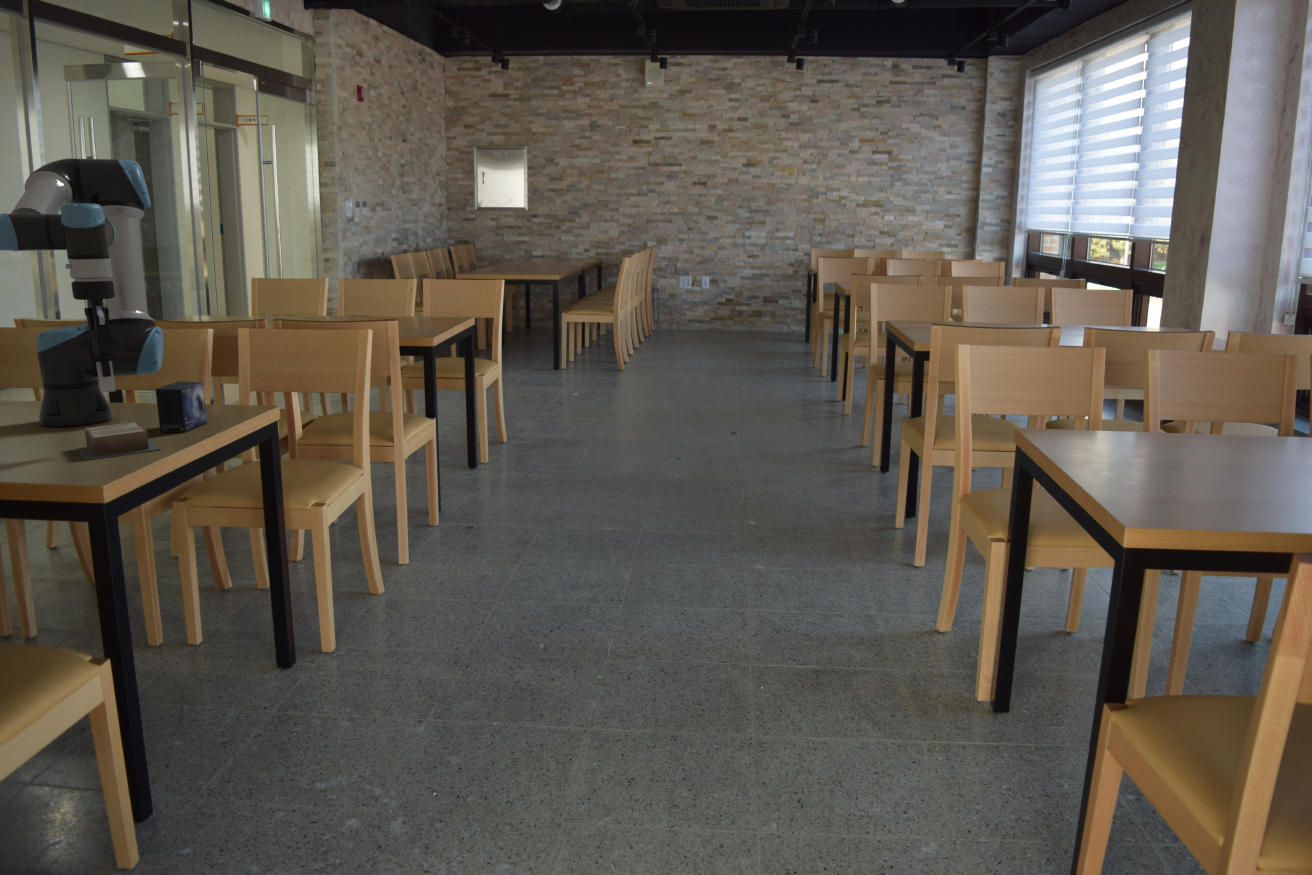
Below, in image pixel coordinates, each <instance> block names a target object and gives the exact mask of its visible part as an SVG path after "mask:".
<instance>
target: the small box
mask: <svg viewBox="0 0 1312 875" xmlns="http://www.w3.org/2000/svg"><path fill="white" fill-rule="evenodd" d="M154 390H155V397H156V398H155V399H156V406H157V416H158V424H159V433H186V432H189V431H191V430H194V429H197V428H199V427H202V426H205V425H207V424H208V416H207V407H206V400H205V397H206V396H205V391H204V390H205V389H204V382H201V381H181V380H179V381H176V382H173V383H169V384H167V385H163V386H159V387H156V388H155V389H154Z"/></svg>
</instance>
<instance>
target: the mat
mask: <svg viewBox="0 0 1312 875" xmlns="http://www.w3.org/2000/svg"><path fill="white" fill-rule="evenodd" d="M148 444H149V449H147V450H140V451H133V452H126V453H118V454H111V455H104V456H97V457H95V456H94V455H93V453H92V452H91V451H90V449H89V448H88V447H87V446H85V447H83V446H82V447H78V448H76V451H77V452H78V453H79V455H80V456H81V457H82V459H83V460H84V461H86V462H87V461H93V460H99V459H105V458H113V457H120V456H127V455H135V454H144V453H150V452H157V451H158V452H159V451H161V447H159V446H158V445H157V444H156V443H155V442H154V441H153V440H152V439H150V438H148Z"/></svg>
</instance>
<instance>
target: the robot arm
mask: <svg viewBox="0 0 1312 875" xmlns="http://www.w3.org/2000/svg"><path fill="white" fill-rule="evenodd" d="M23 190H24V193H23V195H21V197H20V199H19V200H18V201H17V203H16V205H15V206H14V208H13V209H12V211H10V213H5V212H3V213H0V251H12V252H13V251H14V252H15V253H16V252H25V251H26V252H27V251H28V252H29V251H66V256H67V262H68V263H66V264H65V265H64V266H65V269H67V270H68V269H69V276H70V278H71V279H72V280H74V281H72V282H71V291H72V297H73V299H75V300H79V301H86V304H87V305H86V306H87V307H84V308H83V309H84V310H83V311H84V315H85V317H86V321H87V323H82V324H81V323H80V324H73V325H68V326H60V327H56V328H54V327H53V328H51V329H47V330H43V331H40V332H39V333H37V335H36V337H35V342H36V343H35V344H36V353H35V354H37V359H38V365H39V370H40V371H39V372H40V376H41V383H42V389H43V395H42V396H43V397H42V401H41V404H40V409H39V415H38V419H39V424H40V425H41V426H43V427H49V428H50V427H54V428H58V427H59V428H60V427H64V428H65V427H75V426H83V425H85V426H86V425H91V424H96V423H101V422H105V421H108V420H110V419H112V418H113V413H112V408H111V407H110V405H109V403H108V400H107V399H106V397H105V395H104V393H108V392H109V393H111V392H116V391H117V389H116V388H117V387H116V382H115V377H124V376H125V377H126V376H139V377H140V376H142V375H150V374H156V373H157V372H159V371H160V369H162V368H161V367H162V365H163V358H164V346H165V345H164V332H163V328H161V327H160V326H156V322H155V319H153V318H152V316H150V315H149V314H148V308H147V297H146V296H147V295H146V286H145V277H144V268H143V266H144V264H143V257H142V246H141V234H140V224H139V222H140V220H141V219H142V218H143V217H144V216H145V209H148V208H150V207H151V198H150V195H149V190H148V187H147V182H146V179H145V176H144V174H143V170H142V168H141V165H140V164H139V162H137V161H135V160H132V159H131V160H130V159H120V158H115V159H114V158H113V159H110V158H103V159H101V158H70V157H69V158H62V159H59V160H54V161H52V162H49V163H46V164H44V165H41V167H38V168H36V169H35V170H34V171H33V172H31V173H30V174H29V176H28V177H27V178H26V180H25V183H24V188H23ZM104 300H106V306H105V303H104Z"/></svg>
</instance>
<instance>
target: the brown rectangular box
mask: <svg viewBox="0 0 1312 875" xmlns="http://www.w3.org/2000/svg"><path fill="white" fill-rule="evenodd" d="M83 431H84V436H85V441H86V447H88V448H89V449H90V451H91V452H92V453H93V455H94V456H95V457H97V456H104V455H111V454H118V453H126V452H133V451H140V450H147V449H149V444H148V439H149V438H148V431H147V430H146V429H145V428H144V427H143V426H142V425H141V424H139V422H137V421H134V422H133V421H132V422H124V423H117V424H108V425H98V426H91V427H84V430H83Z"/></svg>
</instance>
